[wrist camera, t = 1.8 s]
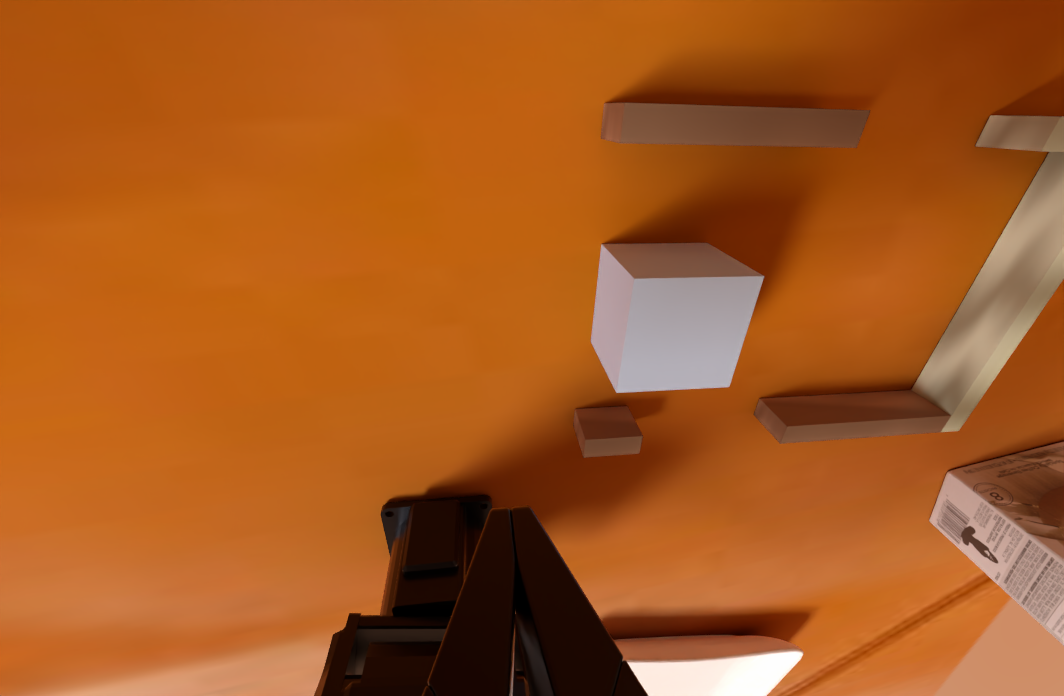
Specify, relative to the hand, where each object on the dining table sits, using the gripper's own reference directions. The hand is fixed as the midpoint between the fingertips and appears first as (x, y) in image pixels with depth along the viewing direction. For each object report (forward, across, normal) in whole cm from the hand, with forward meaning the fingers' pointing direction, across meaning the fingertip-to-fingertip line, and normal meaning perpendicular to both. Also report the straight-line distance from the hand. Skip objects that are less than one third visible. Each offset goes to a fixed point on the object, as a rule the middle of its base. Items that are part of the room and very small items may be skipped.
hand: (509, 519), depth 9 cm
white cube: (+12, -8, 0) cm, 14 cm away
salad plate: (+13, -14, +41) cm, 45 cm away
